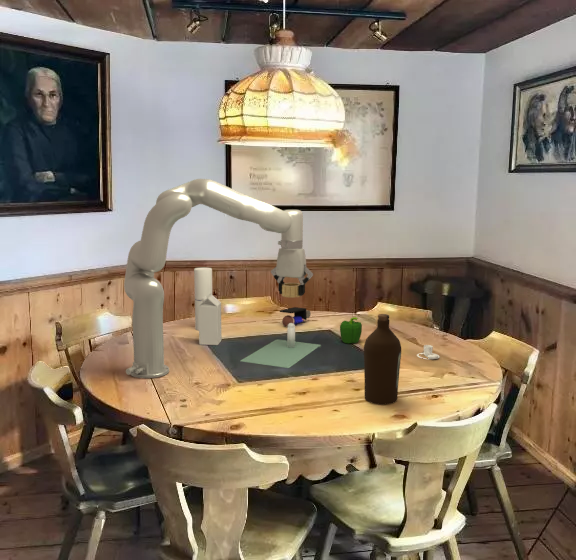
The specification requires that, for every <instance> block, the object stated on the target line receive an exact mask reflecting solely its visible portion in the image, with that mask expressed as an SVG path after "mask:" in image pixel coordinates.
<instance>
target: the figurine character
mask: <svg viewBox="0 0 576 560" xmlns="http://www.w3.org/2000/svg"><path fill="white" fill-rule="evenodd" d="M279 313H286V314H287V315H284V317H283V318H282V321H281V322H282V325H283V326H284V327H285V328H287V326H288V324H289V323H293V324H294V325H296V324H305V323H306V320H307V319H309V318H310V317H311V311H310V310H307V307H299V306H298V307H297V306H294V307H289V308H285V309H281V310H279ZM288 314H289V315H288ZM290 314H294V315H293V316H292V315H290Z"/></svg>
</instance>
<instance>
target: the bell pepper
mask: <svg viewBox="0 0 576 560" xmlns="http://www.w3.org/2000/svg"><path fill="white" fill-rule="evenodd" d="M354 320H355V321H354ZM357 320H358V317H354V316H352V317H350V320H349V321H348V320H342V322H341V323H340V325H339V332H340V338H341V341H342V343H345V344H357V343H359V341H360V340H361V339H360V338H361V336H362V331H363V327H362V326H363V324H362V322H360V321H357Z"/></svg>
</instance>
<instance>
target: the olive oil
mask: <svg viewBox="0 0 576 560" xmlns="http://www.w3.org/2000/svg"><path fill="white" fill-rule="evenodd" d="M376 323H377V325H376V326H377V327H376V328H375V329H374V330H373V331H372V332H371V333H370V334H369V335H368V336H367V338H366V339H365V342H364V344H363V365H364V367H363V371H364V399H365V401H367V402H368V403H370V404H374V405H391V404H395V403H396V402H397V401H398V393H399V392H398V391H399V379H400V369H401V359H402V358H401V357H402V346H401V341H400V339H399V338H398V337H397V335H396V334H395V333H394V332H393V331H392V329H390V315H389V314H387V313H379V314H378V315H377V322H376Z"/></svg>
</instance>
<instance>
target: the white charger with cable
mask: <svg viewBox="0 0 576 560" xmlns="http://www.w3.org/2000/svg"><path fill="white" fill-rule="evenodd" d="M433 347H434V346H433V345H430V344H425V345H423V352H420V353H417V354H416V357H418V358H420V359H422V358H423V359H424V360H439V358H441V357H440V355H439V354H437V353H433V350H434V349H433ZM419 354H421V355H424V357H422V356H421V355H420V356H419ZM425 356H426V357H427V358H428V359H427V358H425Z"/></svg>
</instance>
